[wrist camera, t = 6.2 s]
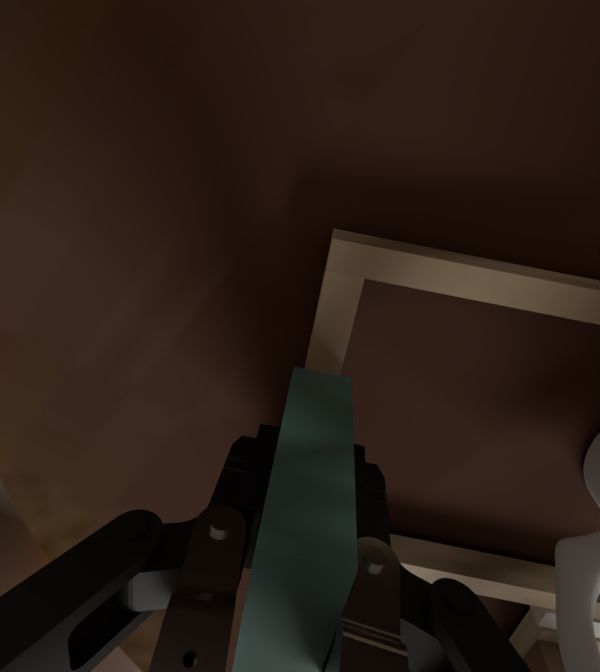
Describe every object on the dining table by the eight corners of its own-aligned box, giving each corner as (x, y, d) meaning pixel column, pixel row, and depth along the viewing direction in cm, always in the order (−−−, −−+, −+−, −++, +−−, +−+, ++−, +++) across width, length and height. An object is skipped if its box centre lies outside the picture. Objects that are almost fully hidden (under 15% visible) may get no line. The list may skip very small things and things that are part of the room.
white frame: (919, 343, 13) (1652, 611, 6) (672, 605, 20) (877, 900, 12) (321, 226, 14) (293, 342, 6) (263, 523, 20) (214, 764, 12)
